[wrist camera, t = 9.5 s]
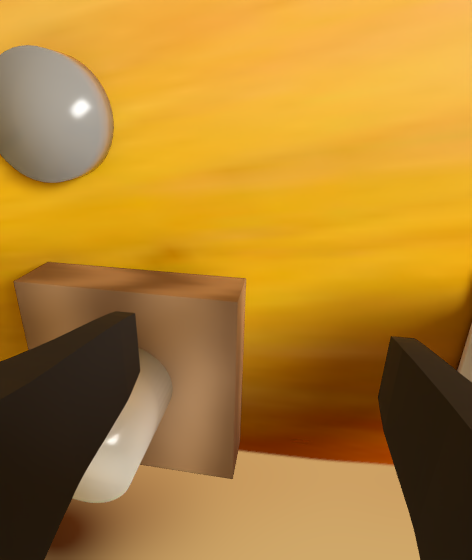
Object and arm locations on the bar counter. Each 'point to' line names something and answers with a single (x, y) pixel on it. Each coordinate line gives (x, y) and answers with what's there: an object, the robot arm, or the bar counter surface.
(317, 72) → the bar counter surface
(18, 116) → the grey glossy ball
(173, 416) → the walnut block
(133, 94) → the bar counter surface
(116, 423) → the cream glossy cylinder
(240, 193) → the bar counter surface
